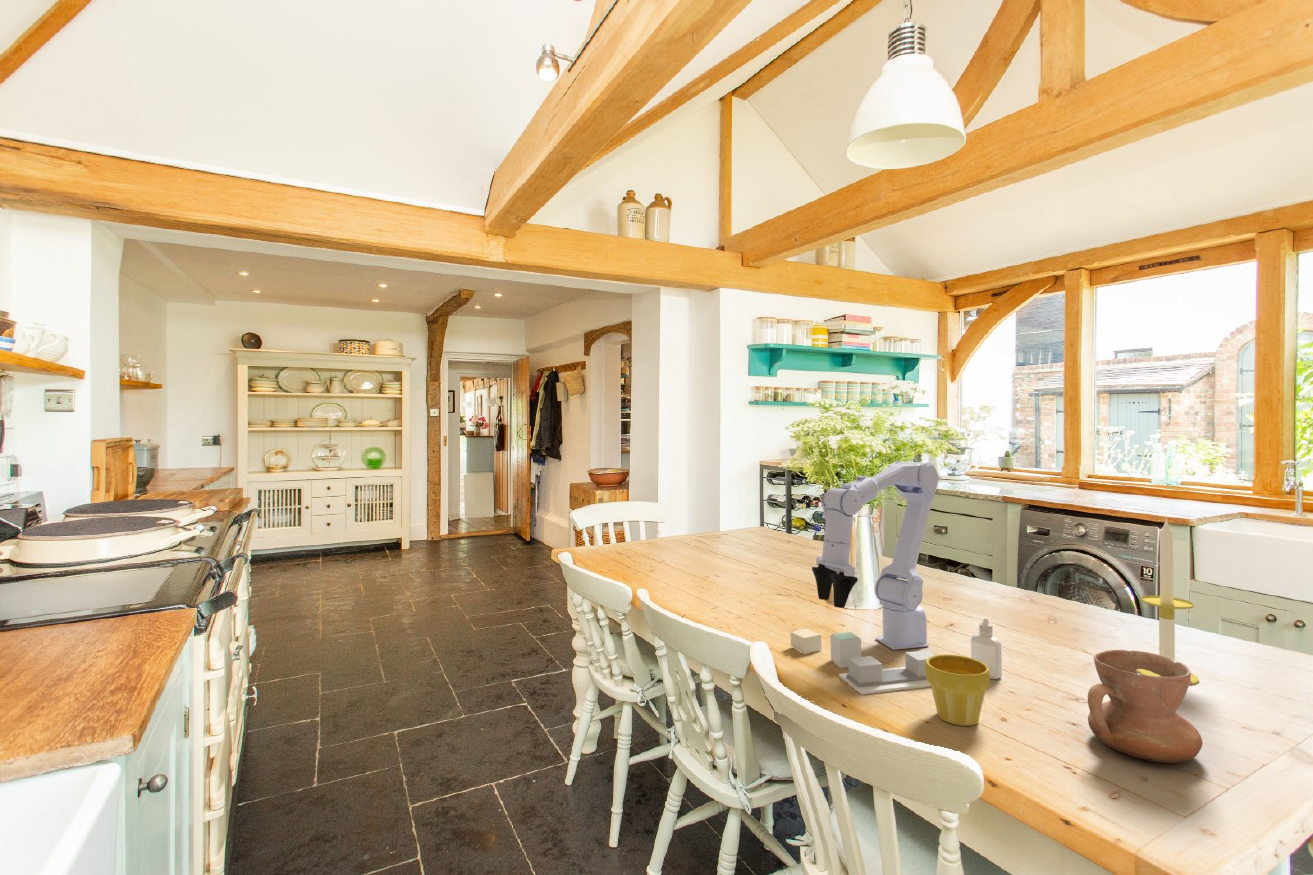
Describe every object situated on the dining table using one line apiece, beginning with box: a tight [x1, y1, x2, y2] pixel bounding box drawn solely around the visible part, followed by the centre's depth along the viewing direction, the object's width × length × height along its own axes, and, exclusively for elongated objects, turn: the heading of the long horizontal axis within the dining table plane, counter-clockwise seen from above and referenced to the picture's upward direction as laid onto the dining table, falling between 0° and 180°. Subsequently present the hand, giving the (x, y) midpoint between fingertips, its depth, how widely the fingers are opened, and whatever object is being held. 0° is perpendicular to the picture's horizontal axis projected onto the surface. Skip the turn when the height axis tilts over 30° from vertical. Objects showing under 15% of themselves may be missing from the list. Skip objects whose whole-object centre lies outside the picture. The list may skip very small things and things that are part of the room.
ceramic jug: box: [1087, 649, 1203, 764], centre depth 100 cm, size 18×14×14 cm
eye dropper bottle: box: [970, 617, 1003, 680], centre depth 130 cm, size 4×6×12 cm
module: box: [830, 631, 862, 669], centre depth 138 cm, size 5×4×6 cm
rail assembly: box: [838, 649, 935, 696], centre depth 128 cm, size 20×9×5 cm, turn 101°
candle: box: [1136, 518, 1200, 686], centre depth 128 cm, size 10×10×32 cm
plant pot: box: [926, 654, 991, 727], centre depth 112 cm, size 10×10×10 cm
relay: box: [790, 628, 822, 655], centre depth 147 cm, size 5×5×4 cm
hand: (831, 603), depth 138 cm, fingers open, 7 cm apart
